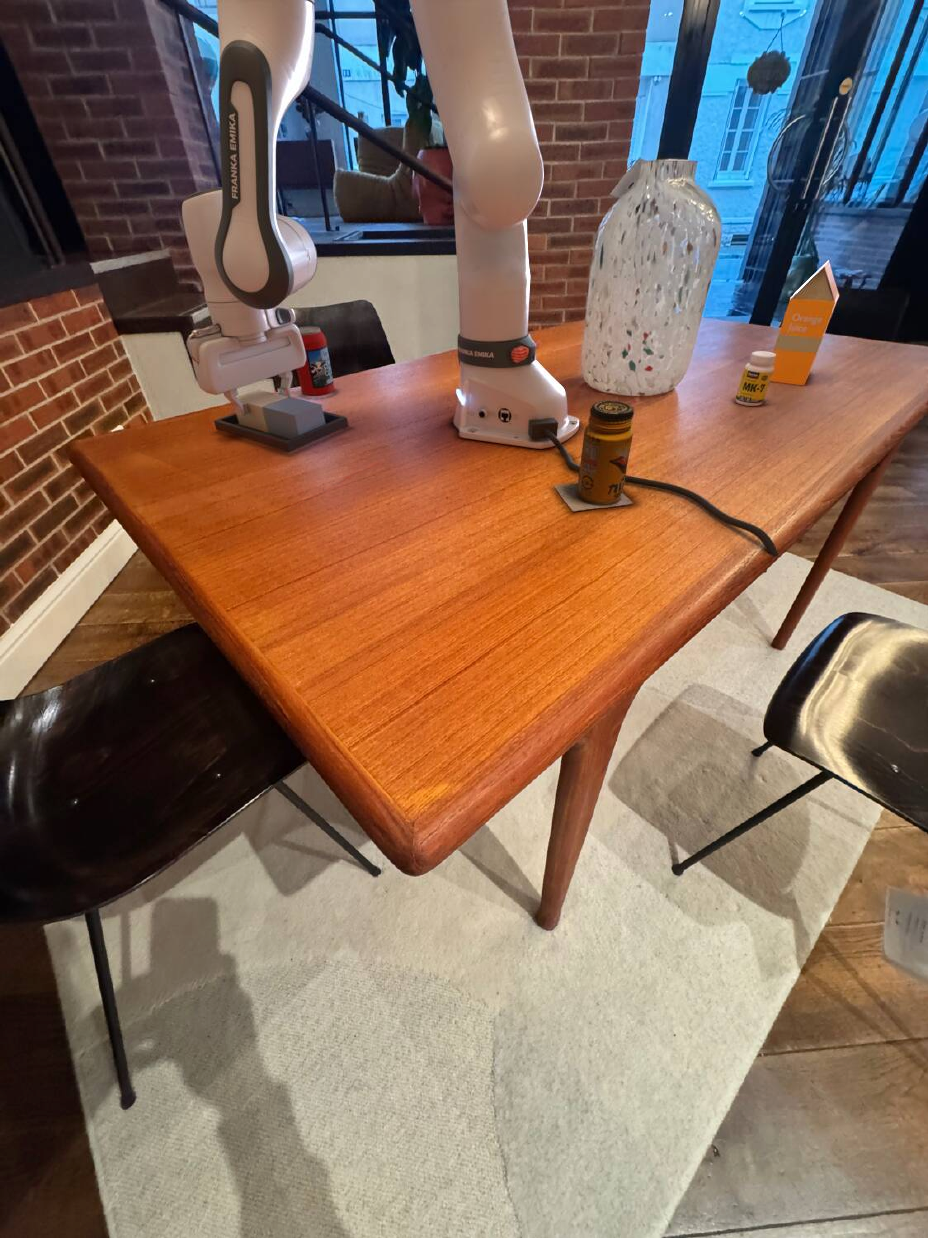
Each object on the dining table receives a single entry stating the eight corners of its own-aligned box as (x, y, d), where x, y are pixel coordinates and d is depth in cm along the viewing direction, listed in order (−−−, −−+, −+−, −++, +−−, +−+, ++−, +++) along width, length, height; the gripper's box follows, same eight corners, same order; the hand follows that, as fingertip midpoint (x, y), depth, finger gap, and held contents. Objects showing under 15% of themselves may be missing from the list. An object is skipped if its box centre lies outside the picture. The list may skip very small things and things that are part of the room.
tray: (349, 428, 93) (347, 416, 92) (289, 455, 85) (286, 442, 84) (277, 409, 102) (274, 398, 101) (217, 432, 94) (213, 420, 93)
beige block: (294, 422, 95) (288, 396, 92) (267, 432, 91) (260, 406, 88) (265, 414, 99) (258, 389, 96) (239, 424, 95) (231, 398, 92)
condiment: (632, 504, 70) (651, 413, 62) (572, 512, 68) (584, 420, 61) (610, 480, 75) (624, 394, 67) (553, 487, 74) (562, 400, 66)
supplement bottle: (734, 404, 97) (749, 356, 92) (734, 397, 101) (749, 349, 95) (762, 407, 96) (779, 358, 90) (762, 399, 99) (778, 351, 94)
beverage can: (327, 399, 106) (315, 333, 98) (297, 398, 107) (282, 333, 99) (340, 389, 111) (329, 325, 103) (310, 387, 112) (297, 325, 104)
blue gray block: (326, 430, 91) (321, 404, 88) (300, 442, 88) (294, 414, 85) (296, 422, 95) (290, 396, 92) (269, 432, 91) (262, 406, 88)
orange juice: (809, 374, 110) (853, 259, 97) (804, 385, 105) (850, 266, 92) (769, 369, 114) (806, 258, 101) (762, 380, 108) (800, 264, 95)
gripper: (195, 334, 76) (226, 428, 85) (301, 308, 89) (319, 392, 98) (171, 330, 79) (204, 421, 88) (277, 305, 92) (296, 387, 101)
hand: (265, 406), depth 93 cm, fingers open, 8 cm apart
